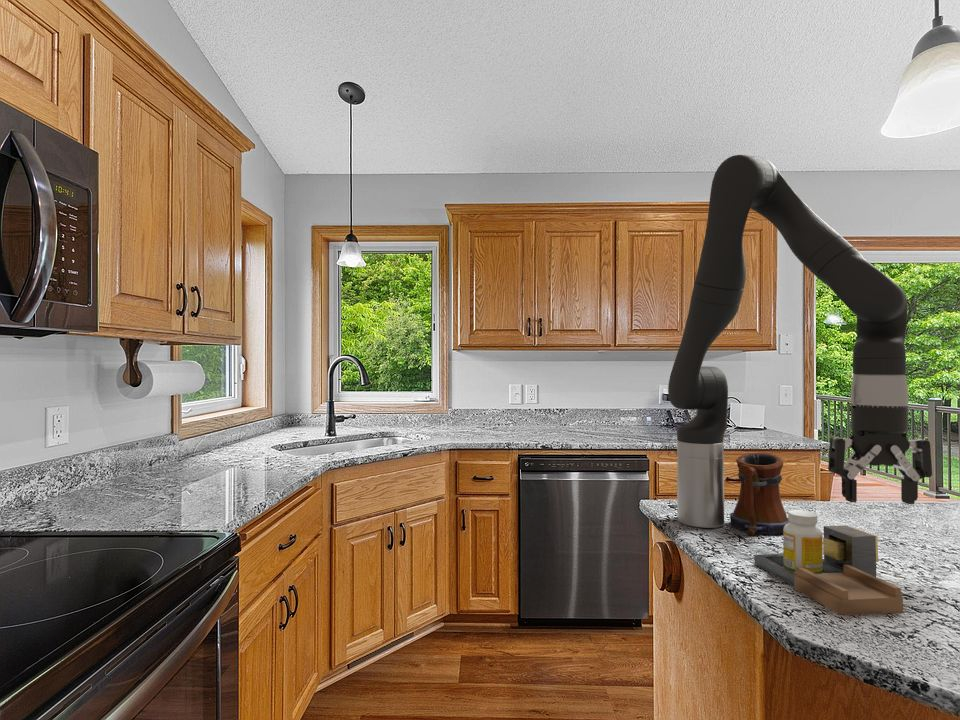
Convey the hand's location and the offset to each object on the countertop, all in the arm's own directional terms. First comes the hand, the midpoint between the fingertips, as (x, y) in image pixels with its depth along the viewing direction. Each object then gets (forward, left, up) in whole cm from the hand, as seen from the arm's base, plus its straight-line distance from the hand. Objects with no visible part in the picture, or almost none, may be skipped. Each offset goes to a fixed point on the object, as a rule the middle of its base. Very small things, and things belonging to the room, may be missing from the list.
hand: (879, 502), depth 89 cm
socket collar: (0, -14, -11) cm, 18 cm away
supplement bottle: (0, -14, -11) cm, 18 cm away
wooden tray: (+10, -15, -11) cm, 21 cm away
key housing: (0, -6, -11) cm, 12 cm away
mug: (-23, -7, -11) cm, 26 cm away
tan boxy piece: (0, -6, -9) cm, 10 cm away
